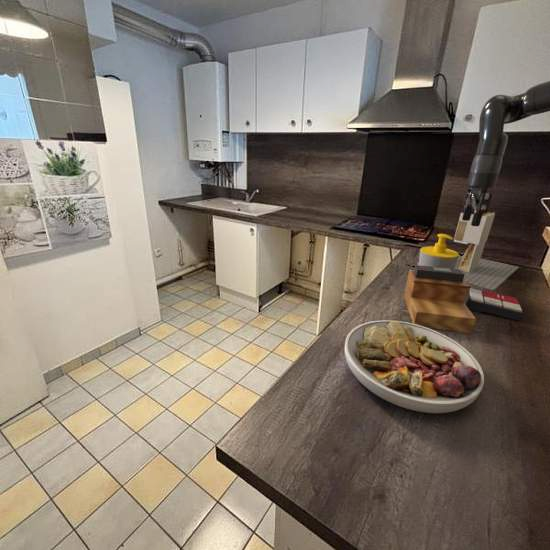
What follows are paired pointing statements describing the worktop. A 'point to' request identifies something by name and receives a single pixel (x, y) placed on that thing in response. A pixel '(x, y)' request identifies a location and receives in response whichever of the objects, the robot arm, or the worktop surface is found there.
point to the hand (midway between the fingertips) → (470, 223)
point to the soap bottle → (438, 254)
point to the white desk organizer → (479, 255)
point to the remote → (438, 273)
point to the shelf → (438, 304)
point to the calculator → (493, 304)
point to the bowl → (413, 366)
